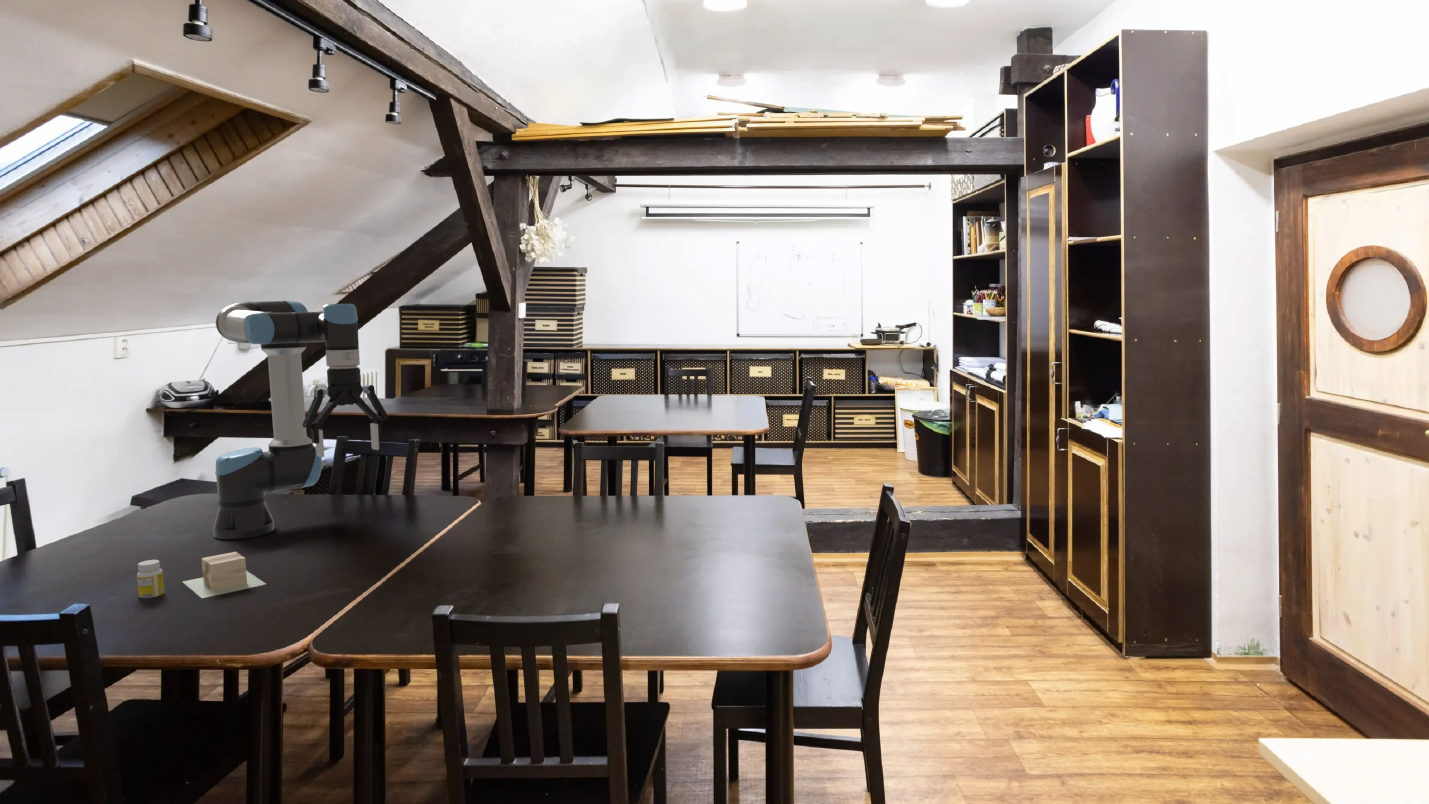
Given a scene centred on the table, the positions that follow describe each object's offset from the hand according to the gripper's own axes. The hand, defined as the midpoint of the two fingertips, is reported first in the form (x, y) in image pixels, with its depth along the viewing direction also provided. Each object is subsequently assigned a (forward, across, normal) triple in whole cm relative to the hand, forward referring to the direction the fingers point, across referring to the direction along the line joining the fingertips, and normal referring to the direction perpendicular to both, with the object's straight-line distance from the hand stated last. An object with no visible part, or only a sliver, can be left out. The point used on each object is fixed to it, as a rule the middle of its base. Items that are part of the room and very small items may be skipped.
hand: (348, 452), depth 215 cm
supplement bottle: (+28, -43, +4) cm, 51 cm away
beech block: (+26, -30, 0) cm, 39 cm away
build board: (+27, -30, 0) cm, 40 cm away
